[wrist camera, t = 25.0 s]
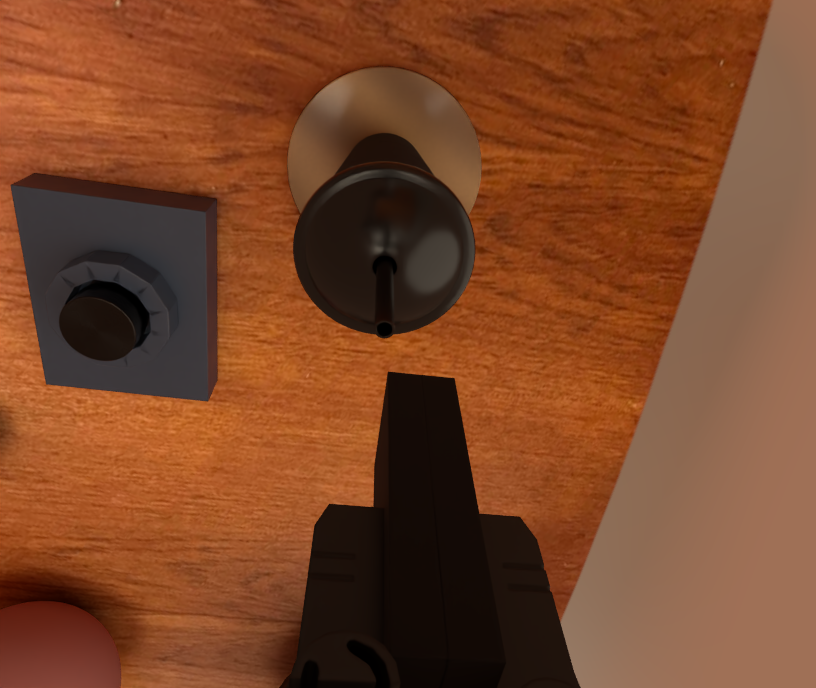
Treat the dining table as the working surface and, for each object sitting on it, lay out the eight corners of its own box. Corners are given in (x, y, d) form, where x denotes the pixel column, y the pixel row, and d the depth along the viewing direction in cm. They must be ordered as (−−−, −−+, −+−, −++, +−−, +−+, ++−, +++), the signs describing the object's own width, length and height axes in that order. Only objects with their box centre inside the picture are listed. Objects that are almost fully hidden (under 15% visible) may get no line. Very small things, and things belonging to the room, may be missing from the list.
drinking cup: (405, 253, 39) (420, 453, 22) (301, 194, 37) (227, 364, 20) (470, 152, 36) (549, 293, 19) (361, 81, 34) (337, 165, 17)
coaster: (352, 19, 33) (352, 20, 32) (519, 143, 36) (521, 145, 36) (254, 198, 38) (252, 200, 37) (410, 291, 41) (410, 294, 41)
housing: (34, 172, 36) (-8, 193, 32) (216, 198, 37) (197, 221, 34) (64, 363, 43) (32, 399, 39) (217, 380, 44) (201, 417, 40)
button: (69, 277, 36) (53, 292, 34) (145, 287, 36) (132, 302, 34) (78, 340, 38) (63, 357, 36) (149, 348, 38) (138, 365, 36)
